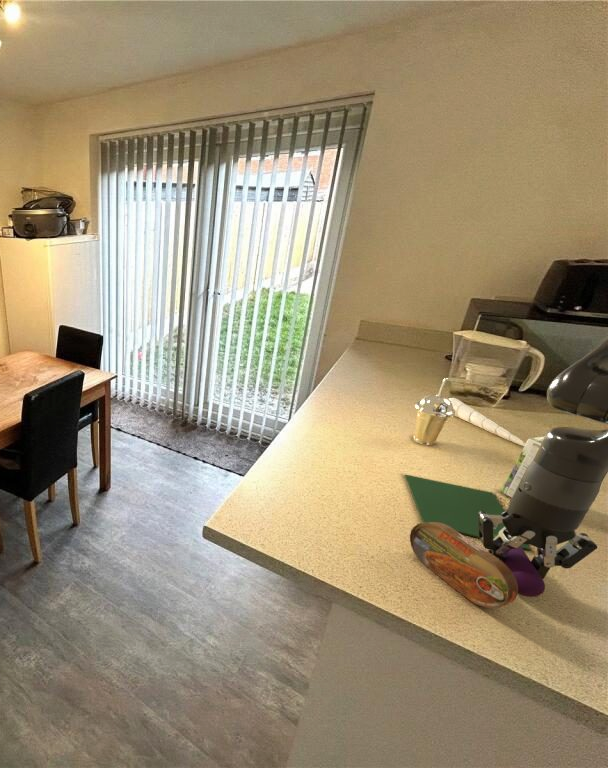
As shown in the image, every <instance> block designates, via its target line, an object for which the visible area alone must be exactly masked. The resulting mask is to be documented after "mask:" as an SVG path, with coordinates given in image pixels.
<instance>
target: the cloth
mask: <svg viewBox="0 0 608 768" xmlns="http://www.w3.org/2000/svg"><path fill="white" fill-rule="evenodd" d="M404 477H405V479H406V482H407V486H408V487H409V491H410V493H411V496H412V499H413V500H414V503H415V505H416V508H417V511H418V513H419V516H420V519H421V521H422V523H429V522H438V523H443V524H446V525H448V526H450V527H451V528H453V529H454V530H456V531H458V532H459V533H461V534H462V535H464V536H469V537H472V538H477V539H479V535H478V513H479V512H480V511H485V512H486V513H487V514H488V515H501V514H502V513H503V512H505V511H506V510H505V509H504V508H503V506H502V505H501V503H500V501H499V500H498V498H497V497H496V495H495V494H494V493H493V492H491V491H486V490H481V489H477V488H471V487H467V486H462V485H457V484H452V483H449V482H443V481H438V480H433V479H428V478H423V477H418V476H414V475H409V474H405V475H404ZM504 527H505V526H504V524H503V523H500V524H498V527H497V529H493V539H494V535H496V534H498V533H499V531H500V530H501V529H502V528H504ZM520 546H521V547H522V548H523V550H524V551H528V552H530V551H531V548H530V545H527V544H521V545H520Z"/></svg>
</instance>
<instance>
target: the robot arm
mask: <svg viewBox="0 0 608 768" xmlns="http://www.w3.org/2000/svg"><path fill="white" fill-rule="evenodd" d="M546 400H547V402H548V404H549V405H550V406H551V408H553V409H555V410H556V411H558V412H562V413H565V414H569V415H573V416H577V417H581V418H584V419H587V420H591V421H593V422H598V423H601V424H606V425H608V335H606V337H605V338H604V339H603V340H602V341H601V342H600V343H599V344H598V345H596V347H595V348H594V349H592V350H591V351H589V352H588V353H587V354H585V355H584V356H583V357H582V358H580V359H579V360H577V361H576V362H574V363H572V364H571V365H570V366H568V367H567V368H565V369H564V370H562V372H560V373H559V374H558V375H556V377H554V379H553V380H552V381H551V382H550V384H549V385H548V387H547V389H546ZM543 437H544V439H543V441H542V443H541V445H540V447H539V449H538V451H537V454H536V456H535V458H534V459H533V461H532V462H531V464H530V465H529V466H528V468H527V469H526V471H525V473H524V475H523V477H522V479H521V481H520V483H519V485H518V487H517V489H516V491H515V493H514V495H513V497H512V498H511V499H510V501H509V503H508V507H507V509H506V510H504V511H505V512H503V513H502V514H501V515H488V514H487V513H486V512H485V511H480V512H479V513H478V535H479V538H478V539H479V540H480V542H481V544H482V546H483V549H485V550H487V551H488V552H489V553H491V554H492V555H494V556H495V557H497V558H498V559H500V560H501V561H502V562H503V561H504V559H505V554H506V553H507V552H509V551H510V550H511V549H516V548H518V547H519V546H520V545H521V544H527V545H528V546H533V547H535V548H536V555H534V556H533V557H532V559H531V560H530V561H531V562H532V564H533V565H534V567H535V568H536V570H537V571H538V573H539V575H540V576H541V578H542V579H543V580H544V579H546V576H547V575H548V572H549V571H550V569H551V568H554V567H561V568H563V569H566V570H567V569H568V570H569V569H571V568H572V567H574V566H576V565H577V564H578V563H579V562H581V561H582V560H583V559H585V558H586V557H588V556H589V555H590V554H591V553H593V552H595V550H597V549H598V544H596V543H595V542H594V540H593V539H592V538H591V537H590V536H589V535H588V534H587V533H585V532H581V533H578V532H576V530H578V528H579V527H580V525H581V523H582V522H583V520H584V518H585V517H586V515H587V514H588V512H589V510H590V509H591V507H592V506H593V504H594V502H595V500H596V498H597V496H598V495H599V492H600V490H601V487H602V484H603V481H604V479H605V477H606V476H607V474H608V428H607V429H603V430H597V429H595V430H594V429H585V428H580V427H573V426H572V427H571V426H557V427H553V428H551V429H549V430H548V431H547V433H546V434H545V436H543ZM500 523H503V524H504V526H505V527H504V528H502V529H501V530H500V531H499V533H498V536H496V537H495V538H494V539H493V529H497V527H498V524H500ZM563 543H565V544H563ZM560 544H563V545H562V546H561V547H559V548H558V549H557V546H558V545H560Z"/></svg>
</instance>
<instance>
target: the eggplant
mask: <svg viewBox="0 0 608 768" xmlns="http://www.w3.org/2000/svg"><path fill="white" fill-rule="evenodd" d="M496 536H498V534H496V535H494V538H495V537H496ZM531 561H532V560H531V559H530V558H529V557H528V555H527V553H526V552H525V549H523V548H522V547H521V546H519V547H518V548H516V549H511V550H510V551H509V552H507V553H506V554H505V559H504V561H503V563H504V564H506V565H507V567H508V568H509V569H510V570H511V572H512V573H513V575H514V576H515V579H516V581H517V584H518V593H517V594H519V595H520V596H523V597H528V598H536V597H540V596H541V595H542V594H544V593H545V590H546V583H545V581H544V579H542V578H541V576H540V575H539V573H538V571H537V570H536V568H535V567H534V565H533V564H532V562H531Z"/></svg>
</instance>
